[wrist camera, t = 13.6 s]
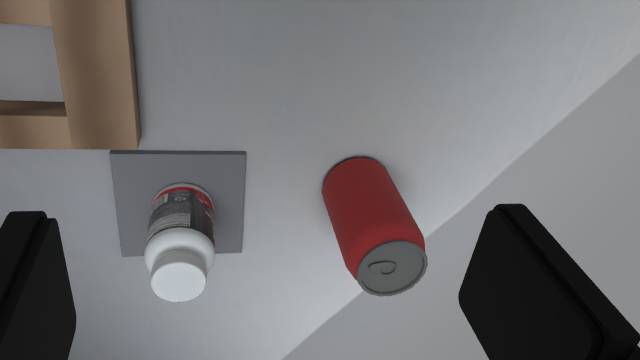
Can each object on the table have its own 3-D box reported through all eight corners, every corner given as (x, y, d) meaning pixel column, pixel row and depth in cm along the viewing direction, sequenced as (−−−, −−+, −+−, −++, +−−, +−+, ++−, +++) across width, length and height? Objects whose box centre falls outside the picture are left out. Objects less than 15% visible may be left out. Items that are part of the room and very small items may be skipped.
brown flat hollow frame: (128, -20, 35) (123, -11, 33) (141, 134, 41) (137, 149, 39) (-143, -41, 32) (-167, -33, 30) (-84, 131, 38) (-100, 147, 36)
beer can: (332, 148, 46) (367, 232, 36) (398, 160, 48) (448, 242, 38) (312, 207, 49) (339, 298, 39) (374, 216, 51) (415, 304, 41)
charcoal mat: (245, 151, 44) (245, 154, 44) (241, 248, 50) (241, 252, 49) (110, 150, 42) (109, 153, 41) (122, 252, 47) (121, 256, 47)
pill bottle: (221, 220, 47) (224, 298, 39) (165, 236, 47) (156, 317, 39) (202, 173, 44) (201, 247, 36) (142, 190, 44) (127, 268, 36)
